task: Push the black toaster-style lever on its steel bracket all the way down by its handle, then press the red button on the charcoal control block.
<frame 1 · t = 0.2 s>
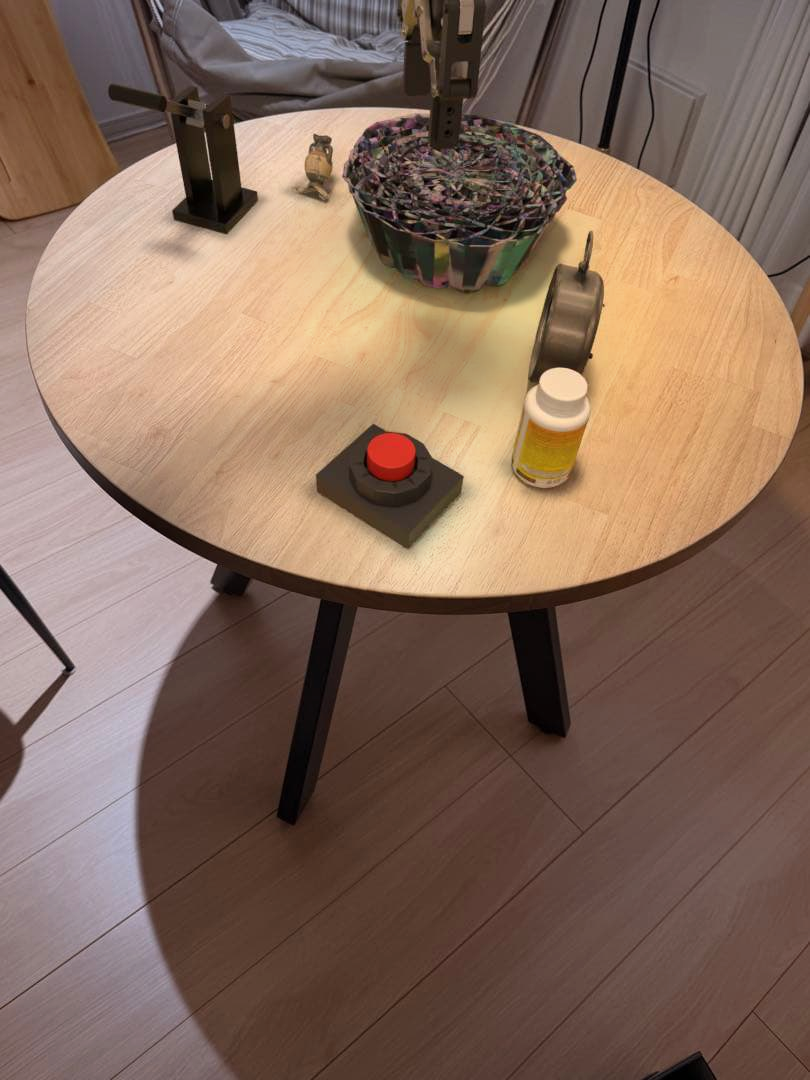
hand: (429, 119, 61), 24 cm above the table, tool pointing down, fingers open, 8 cm apart
control block: (389, 491, 69), on the table
lever: (173, 107, 81), point 14 cm above the table, hinge at 30.0°
vase: (320, 189, 99), on the table
bracket: (216, 209, 95), on the table
alarm clock: (553, 382, 79), on the table
decorative bowl: (453, 239, 94), on the table
button: (391, 457, 66), point 4 cm above the table, slide at 0.1 cm
supplement bottle: (539, 469, 72), on the table
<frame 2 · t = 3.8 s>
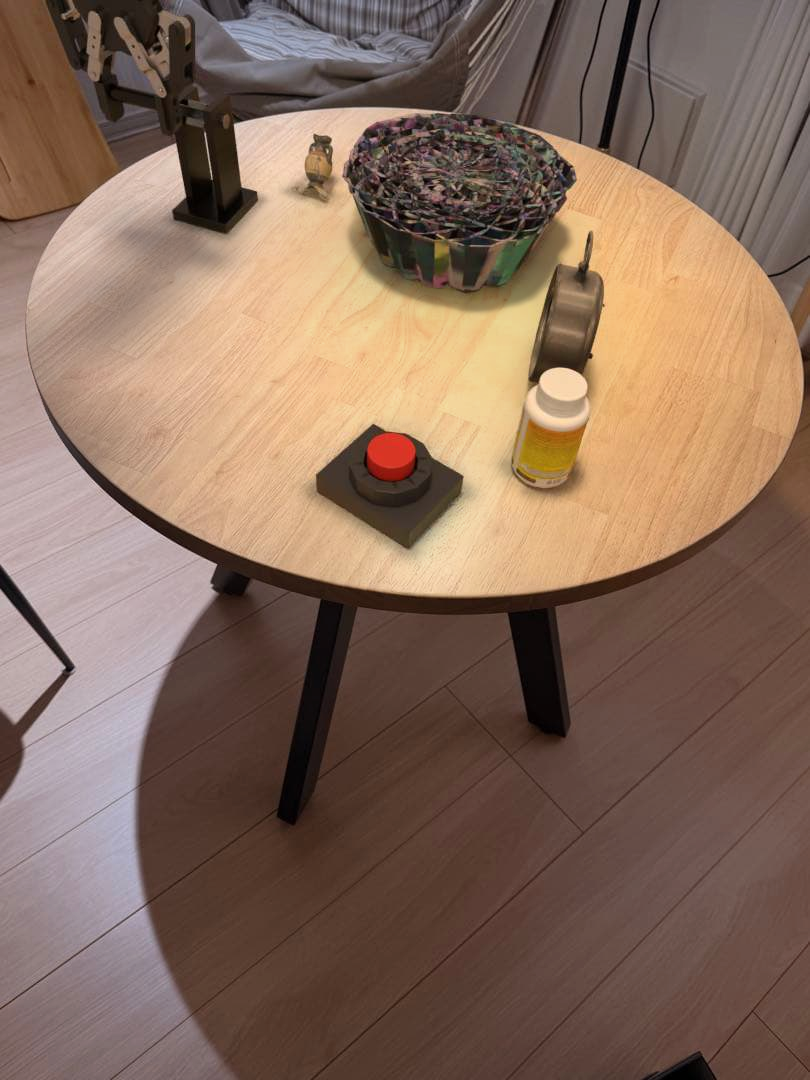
hand: (143, 124, 77), 14 cm above the table, tool pointing down, fingers closed on lever, 5 cm apart
lever: (173, 107, 81), point 14 cm above the table, hinge at 30.0°, touching gripper
everything else where it was.
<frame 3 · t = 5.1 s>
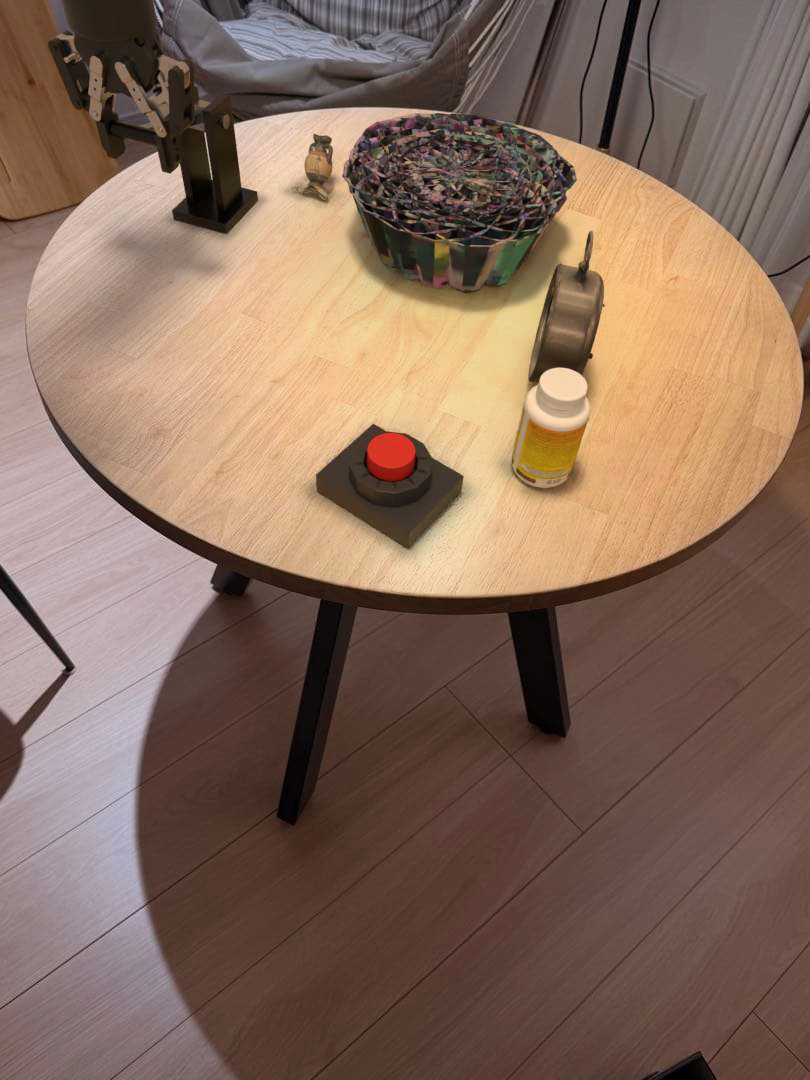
hand: (144, 161, 79), 11 cm above the table, tool pointing down, fingers closed on lever, 5 cm apart
lever: (173, 123, 81), point 12 cm above the table, hinge at 15.1°, touching gripper
everything else where it was.
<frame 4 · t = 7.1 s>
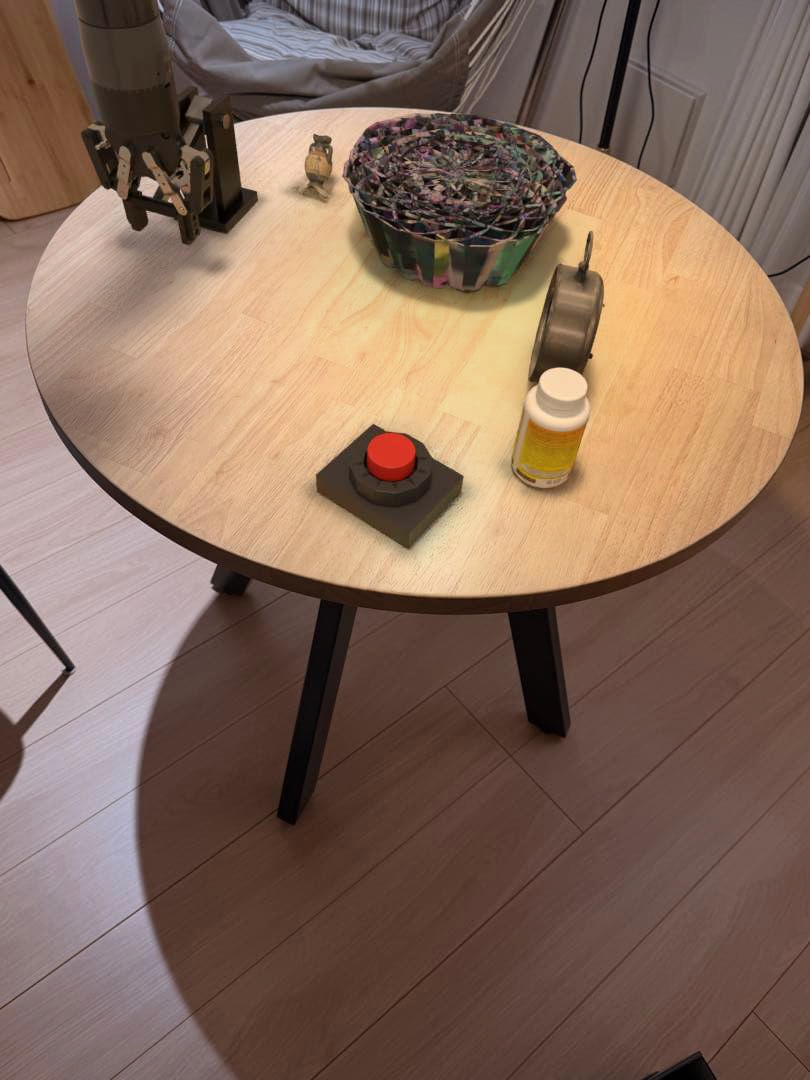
hand: (165, 233, 86), 3 cm above the table, tool pointing down, fingers closed on lever, 5 cm apart
lever: (181, 157, 85), point 9 cm above the table, hinge at -22.9°, touching gripper
everything else where it was.
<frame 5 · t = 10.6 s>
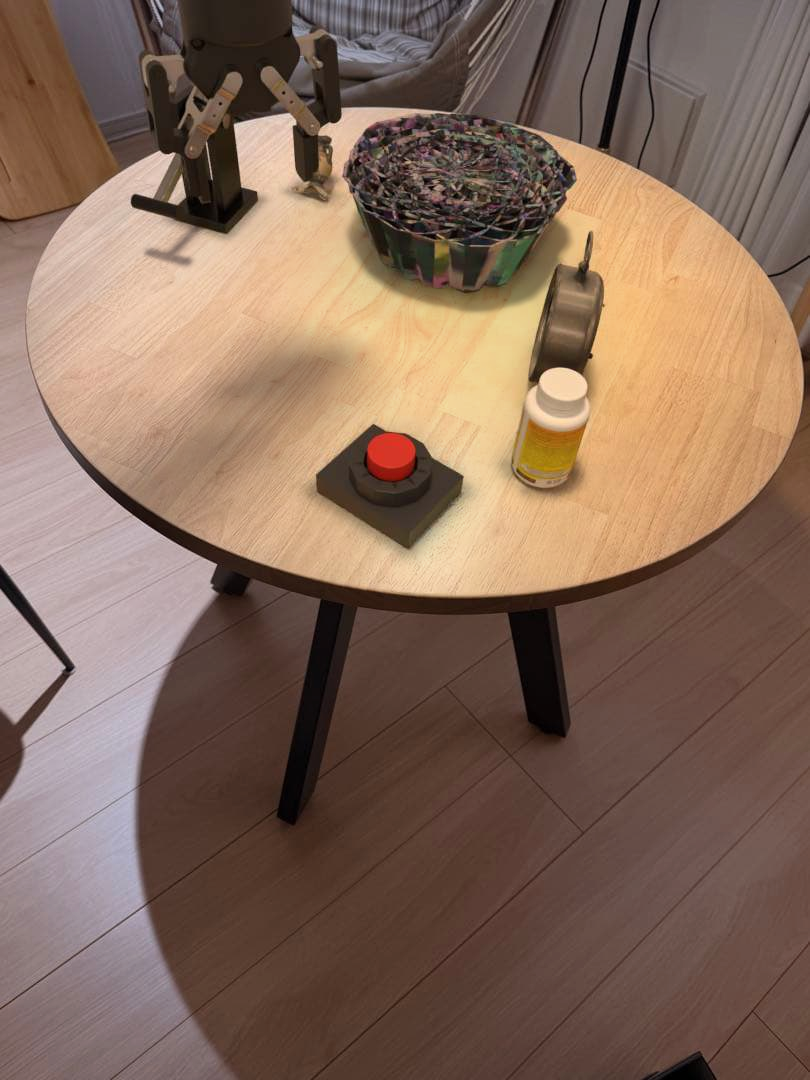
hand: (255, 187, 63), 19 cm above the table, tool pointing down, fingers open, 8 cm apart
lever: (181, 158, 85), point 9 cm above the table, hinge at -23.5°
everything else where it was.
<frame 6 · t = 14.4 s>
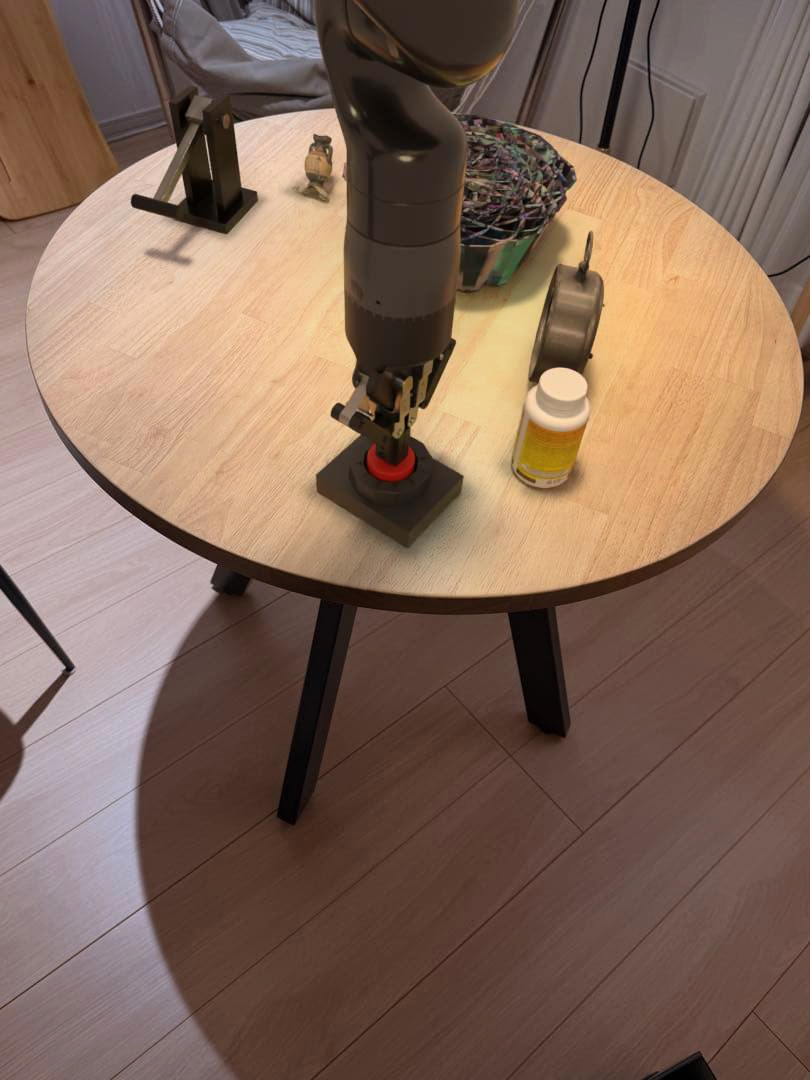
hand: (392, 457, 66), 5 cm above the table, tool pointing down, fingers closed
button: (390, 463, 67), point 4 cm above the table, slide at -0.7 cm, touching gripper
everything else where it was.
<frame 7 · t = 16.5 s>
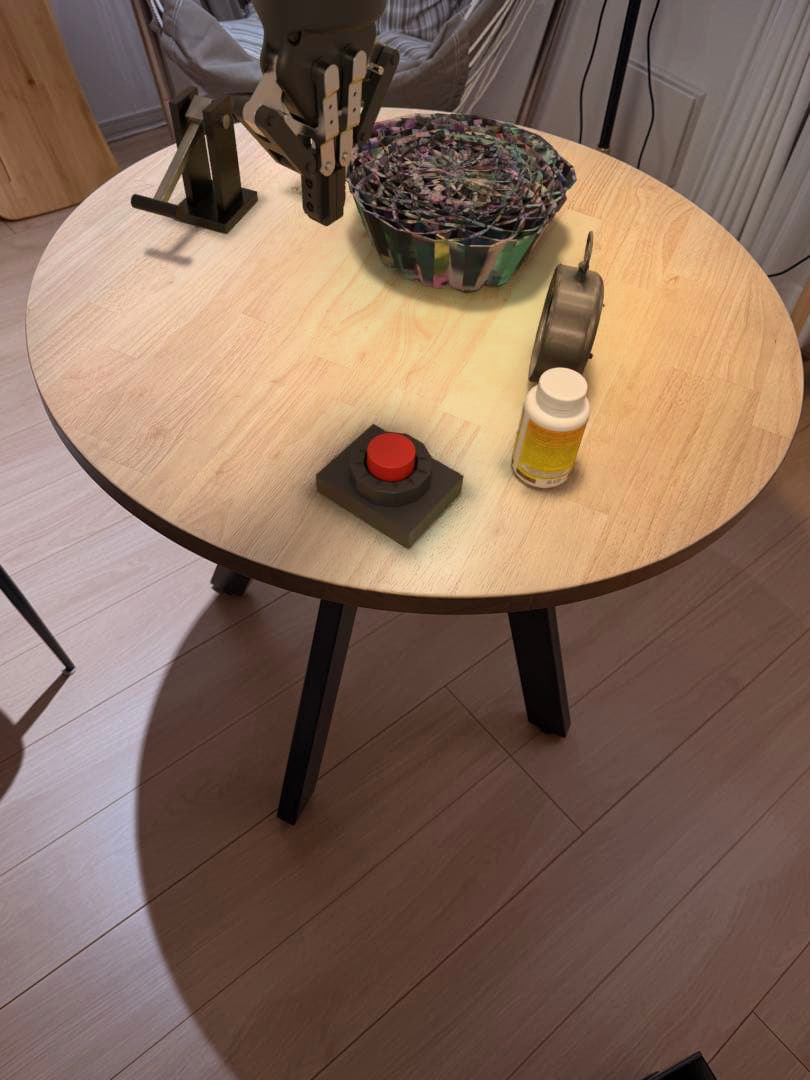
hand: (324, 217, 54), 23 cm above the table, tool pointing down, fingers closed
button: (391, 457, 66), point 4 cm above the table, slide at 0.1 cm
everything else where it was.
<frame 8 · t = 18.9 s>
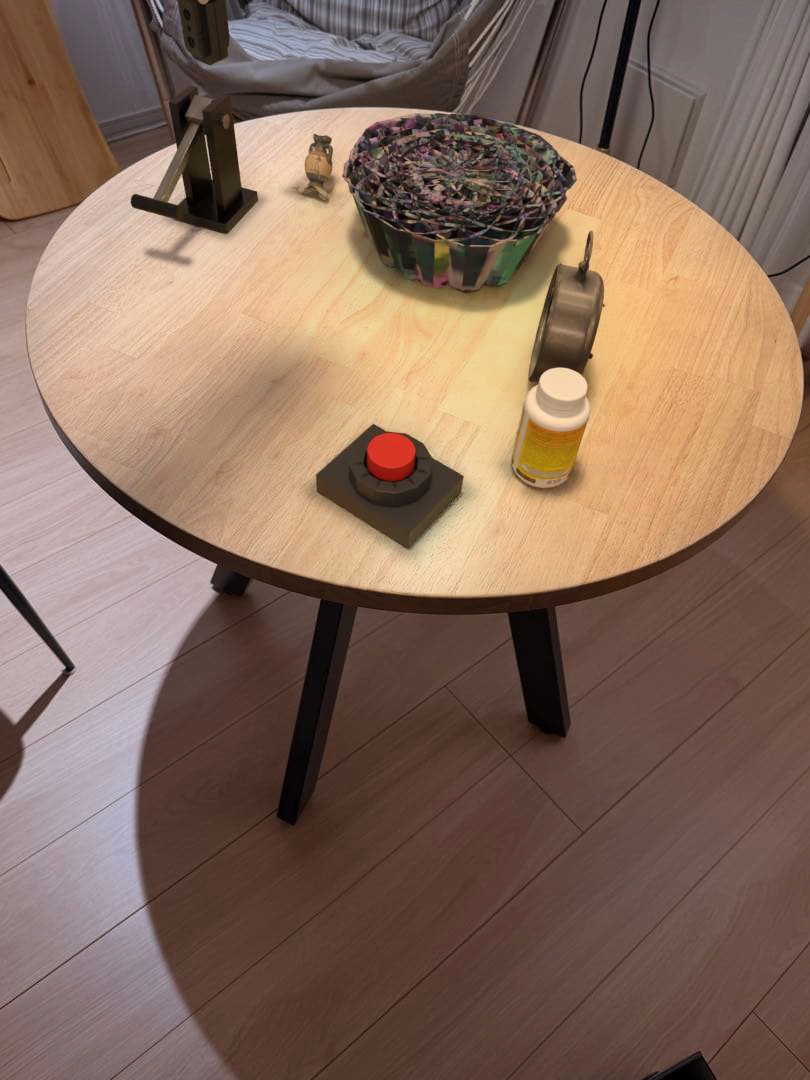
hand: (210, 58, 54), 29 cm above the table, tool pointing down, fingers closed
nothing on the table moved.
at the end: lever at -24° (first picture: +30°); button pushed in 1.1 cm at the most during the clip, back to where it started at the end; button slide at 0.1 cm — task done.
